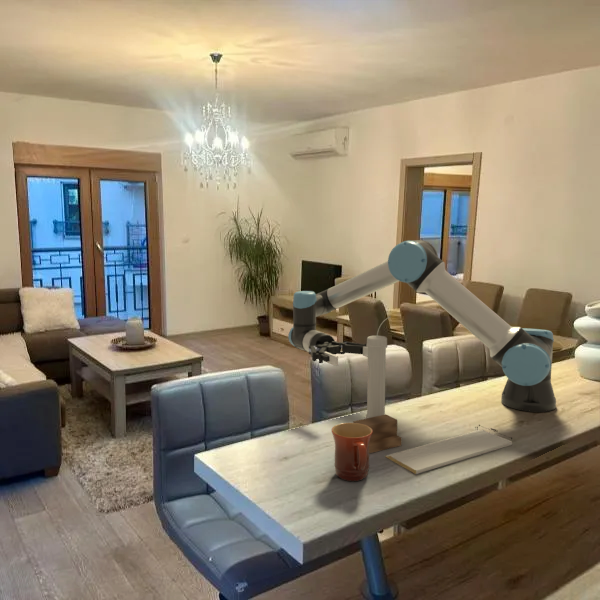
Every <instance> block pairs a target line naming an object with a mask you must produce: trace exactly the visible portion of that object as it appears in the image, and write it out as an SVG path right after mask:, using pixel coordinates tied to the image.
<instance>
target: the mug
mask: <svg viewBox="0 0 600 600" xmlns="http://www.w3.org/2000/svg"><path fill="white" fill-rule="evenodd" d="M372 432H373V431H372V429H371V428H370V427H369V426H367V425H364V424H359V423H353V422H343V423H338V424H336V425H334V426H332V428H331V433H332V436H333V440H334V441H333V442H334V463H333V465H334V469H335V474H336V476H337V477H338V478H340V479H341V480H344V481H347V482H359V481H363V479H365V478H366V477H368V474H369V469H370V453H369V442H370V439H371V436H372Z"/></svg>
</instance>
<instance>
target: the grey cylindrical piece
mask: <svg viewBox="0 0 600 600" xmlns="http://www.w3.org/2000/svg"><path fill="white" fill-rule="evenodd" d="M389 318H391V316H388V317H387V318H385V319H383V321H382V322H381V323H380V325H379V327H378V329H377V332H376V335H370V336H367V338H366V343H365V344H366V347H367V348H368V357H367V384H366V385H367V389H366V391H367V393H366V398H367V399H366V400H367V401H366V408H367V409H366V414H365V419H366V418H371V417H376V416H381V415H385V414H386V412H385V411H386V368H387V367H386V365H387V364H386V358H387V357H386V356H387V355H386V353H387V348H388V338H387V336H384V335H379V331H380V329H381V326H382V325H383V323H384V322H385V321H386V320H388V319H389Z"/></svg>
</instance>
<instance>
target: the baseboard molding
mask: <svg viewBox="0 0 600 600" xmlns="http://www.w3.org/2000/svg"><path fill="white" fill-rule="evenodd" d="M479 427H481V425H480V424H478V426H474V428H475V429H474V430H473V431H470V432H466V433H463V434H459V435H455V436H452V437H448V438H444V439H441V440H437V441H434V442H429V443H426V444H423V445H419V446H415V447H412V448H407V449H403V450H401V451H397V452H393V453H389V454H386V455H385V456H384V457H385V458H387V459H388V460H390V461H392V462H393V463H395V464H397V465H399V466H400V467H402V468H404V469H405V470H407V471H410V472H411V473H413V474H414V475H418V474H421V473H425V472H428V471H431V470H434V469H436V468H441V467H444V466H447V465H450V464H454V463H457V462H461V461H463V460H467V459H470V458H473V457H476V456H477V457H478V456H479V455H483V454H486V453H490V452H493V451H495V450H499V449H500V450H501V449H503V448H505V447H509V446H512V445H513V441H512V439H513V437H509V436H508V438H510V439H511V440H509V439H508V438H504V437H506V435H504V434H503V436H504V437H501V436H498V435H496V434H494V433H491V432H490V431H493V432H495V433H496V432H498V431H499V430H498V429H496V428H492V427H491V428H490V429H489V428H488V430H490V431H489V432H488V431H486V430H485V429H486V427H484V426H483V428H484V429H481V430H480V429H479ZM498 434H499V435H501V433H500V432H498Z"/></svg>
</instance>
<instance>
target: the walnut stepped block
mask: <svg viewBox="0 0 600 600" xmlns="http://www.w3.org/2000/svg"><path fill="white" fill-rule="evenodd" d="M352 423H359V424H364V425H367V426H369V427H370V428H371V429H372V431H373V432H372V436H371V439H370V442H369V454H372V453H376V452H380V451H385V450H389V449H393V448H398V447H402V437H401V436H399V435H398V419H397V418H394V417H392V416H390V415H389V414H386V413H385V415H381V416H376V417H371V418H366V417H365V418H362V419H358V420H353V421H352Z"/></svg>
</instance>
